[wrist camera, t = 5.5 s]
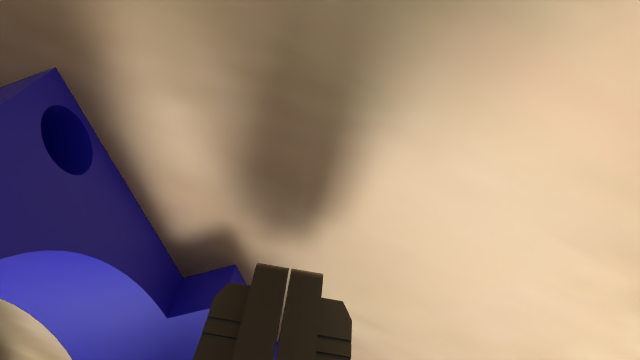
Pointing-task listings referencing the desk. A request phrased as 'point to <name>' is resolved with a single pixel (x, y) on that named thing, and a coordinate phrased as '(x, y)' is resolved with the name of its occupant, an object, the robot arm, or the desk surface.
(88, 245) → the cable clip
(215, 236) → the desk surface
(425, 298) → the desk surface
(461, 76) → the desk surface
